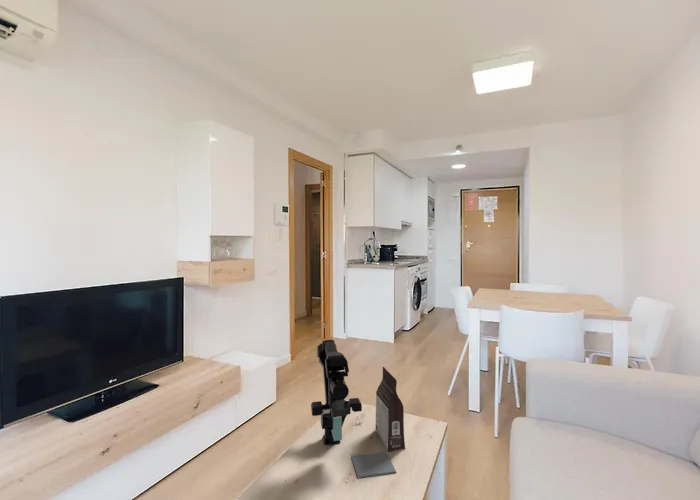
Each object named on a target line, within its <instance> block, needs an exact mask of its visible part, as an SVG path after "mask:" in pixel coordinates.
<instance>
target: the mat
mask: <svg viewBox="0 0 700 500" xmlns="http://www.w3.org/2000/svg"><path fill="white" fill-rule="evenodd" d="M351 461H352V464H353V467H354V470H355V474H356V477H357V479H361V478H368V477H369V478H370V477H376V476H383V475H391V474H397V471H396V468H395V465H394V464H393V462H392V460H391V458H390V456H389V453H388V451H387V450H386V451H378V452H370V453H363V454H362V453H361V454H355V455H351Z"/></svg>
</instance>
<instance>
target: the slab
mask: <svg viewBox="0 0 700 500" xmlns="http://www.w3.org/2000/svg"><path fill="white" fill-rule="evenodd" d="M331 415H332V411H331ZM332 424H333V430H332V429H331V431H332V435H333V439H334V441H338V440H340V441H342V440H343V433H342V431H343V429H342V428H343V426H342V416H340V417H333V416H332Z"/></svg>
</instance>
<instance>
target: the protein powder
mask: <svg viewBox="0 0 700 500" xmlns="http://www.w3.org/2000/svg"><path fill="white" fill-rule="evenodd" d="M397 383H398V382H397V379H396V378H395V377H394V376H393V375H392V374H391V373H390V372H389V371H388V370H387V368H385V367H384V366H382V379H381V381H380V383H379V385H378V387H377V389H376V391H375V393H376V395H375V397H376V398H375V429H374V430H375V432H376V433H377V434H378V436H379V437H380V439H381V442H382V443H383V445H384V447H385V449H386V451H387V452H393V451H399V450H405V449H406V444H405V443H406V441H405V440H406V439H405V430H404V429H405V428H404V425H405V424H404V418H405V417H404V413H405V412H404V411H405V410H404V405H403V402H402V400H401V399H400V397H399V394H398V393H397Z"/></svg>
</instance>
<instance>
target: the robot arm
mask: <svg viewBox="0 0 700 500" xmlns="http://www.w3.org/2000/svg"><path fill="white" fill-rule="evenodd" d="M316 356H317V357H316V358H318V362H319V364H320V366H321V367H322V372H323V374H322V375H323V384H324V399H325V401H324V402H325V404H323V403H322V400H321V401H312V402H311V403H310V410H311V416H313V417H317V416H318V417H319V416H320V427H321V430H324V434H323V435H322V438H323V444H324V446H325V445H334V444H340V443H341V440H338V441H334V439H333V435H332V431H331V429H332V430H333V424H332V416H333V417H340V416H342V427H343V425H344V422H345V420H346V418H347V416H348V415H350V414H351V413H352V412H353V413H355V412H356V413H357V412H362V409H363V406H362V402H361V400H360V398H359V397H353V398H351V397H350V398H349V399H348V400H346V399H347V397H348V396H349V392H350V391H349V387H348V385H347V383H346V380H345V377H349V372H350V369H349V364H348V360H347V358H346V356H345V355H344V354H343V353H342V352H339V351H338V349H337V344H336V343H335V339H325V340H322V342H321V343H319V344H318V345H317V347H316ZM331 411H332V415H331ZM351 411H352V412H351Z"/></svg>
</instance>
